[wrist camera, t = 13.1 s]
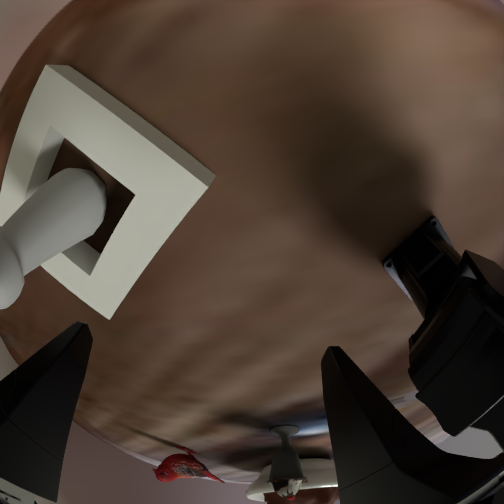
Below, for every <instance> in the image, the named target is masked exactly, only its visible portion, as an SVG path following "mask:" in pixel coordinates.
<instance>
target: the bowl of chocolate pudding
mask: <svg viewBox="0 0 504 504" xmlns="http://www.w3.org/2000/svg"><path fill="white" fill-rule="evenodd" d="M300 464H301V469H302V473H303V476H304V477H307V478H308V482H307V483H302V484H301V487H300V489H299V490H298V492H297V493H296V494H295V498H294V499H293V500H292V504H333V503H334V502H335V501H336V500H338V499H339V490H338V483H337V476H336V469H335V463H334V461H332V460H329V459H323V458H307V459H300ZM271 465H272V464H271ZM271 465H268V466H267V467H265V468H263V470H262V471H261V473H260V475H259V477H258V478H257V479H256V480H255V481H254V482H253V483H252V484H251V485H250V486H249V487H248V489H247V490H246V494H245V495H246V497H247V498H249V499H252V500H256V501H265V502H267V504H291V502H290V500H288V499H287V498H285V497H282V496H280V495H279V494H277V492H275V491H274V488H273V487H272V486H271V485H270V484H265V482H266V481H268V480H269V476H270V471H271Z"/></svg>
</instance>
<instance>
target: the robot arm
mask: <svg viewBox="0 0 504 504" xmlns="http://www.w3.org/2000/svg"><path fill="white" fill-rule="evenodd" d="M433 221H434V223H433V224H432V222H433ZM462 257H463V258H462ZM462 257H461V256H460V255H459V254H458V253H457V251H456V250H455V249H454V248H453V246H452V244H451V242H450V240H449V238H448V236H447V234H446V233H445V231H444V229H443V227H442V225H441V224H440V222H439V220H438V219H437V218H436V217H435V216H431V217H430V218H429V219H428V220H427V221H426V222H425V223H424V224H423V225H421V226H420V227H419V228H418V229H417V230H416V231H415V232H414V233H413V234H412V235H411V236H410V237H409V238H408V239H407V240H405V241H404V242H403V243H402V244H401V245H400V246H399V247H398V248H397V249H396V250H394V251H393V252H392V253H391V254H390V255H389V256H388V257H386V258H385V259H384V260H383V262H382V265H383V267H384V269H385V270H386V271H387V272H388V273H389V274H390V276H391V277H392V278H393V279H394V280H395V282H396V283H397V284H398V285H399V286H400V287H401V289H402V290H403V291H404V292H405V294H406V295H407V296H408V297H409V298H410V300H412V301H414V303H415V305H416V306H417V308H418V310H419V311H420V313H421V315H422V317H423V318H424V321H423V322H422V324H421V325H420V327H419V328H418V329H417V331H416V332H415V333H414V334H412V336H411V337H410V338H409V350H410V354H409V363H410V367H409V368H408V373H409V376H410V378H411V381H412V382H413V384H414V386H415V387H416V389H417V390H418V391H419V392H418V393H417V394H416V395H415V396H416V398H417V399H418V400H420V401H421V402H422V403H424V404H425V405H426V406H427V407H428V408H429V409H430V410H431V411H432V412H433V414H434V415H435V417H436V418H437V420H438V422H439V423H440V425H441V427H442V429H443V430H444V431H445V432H447V433H448V434H450V435H452V436H457V435H459V434H460V433H461V432H463V431H464V430H465V429H467V428H468V427H472V428H476V429H480V430H484V431H488V432H489V433H490V434H491V435H492V436H493V437H494V439H495V440H496V442H497V443H498V444H499V446H500V447H501V449H502V450H503V452H502V453H500V454H499V455H497V456H496V457H495V458H492V459H480V458H473V457H467V456H462V455H456V454H451V453H447V452H445V451H443V450H441V449H439V448H438V447H437V446H435V445H434V444H433V443H432V442H431V441H430V440H428V439H427V438H426V437H425V436H424V435H423V434H421V433H420V432H419V431H418V430H417V429H416V428H415V427H414V426H413V425H412V424H410V423H409V422H408V421H407V419H406V418H405V417H404V416H403V415H402V414H401V413H400V412H399V411H398V410H397V409H395V407H394V406H393V405H392V403H391V402H390V401H389V400H388V399H387V398H386V397H385V396H384V395H383V394H382V392H381V391H380V390H379V389H378V388H377V387H376V386H375V385H374V384H373V383H372V382H371V380H370V379H369V378H368V377H367V376H366V375H365V374H364V373H363V372H362V371H361V369H360V368H359V367H358V366H357V365H356V364H355V363H354V362H353V361H352V360H351V359H350V357H349V356H348V355H347V354H346V353H345V352H344V351H343V350H342V349H341V348H340V347H339V346H329V347H328V348H327V350H326V352H325V354H324V356H323V358H322V361H321V371H322V384H323V398H324V405H325V411H326V416H327V421H328V427H329V433H330V439H331V445H332V451H333V457H334V463H335V469H336V476H337V483H338V490H339V498H340V504H504V474H502V475H500V476H499V477H498V475H499V474H500V473H501V472H502V471H504V269H502V268H501V267H500V266H499V265H498V264H497V263H495V262H494V261H491V260H489V259H487V258H485V257H482V256H480V255H478V254H475V253H473V252H470V251H468V250H465V251H464V253H463V255H462ZM387 263H389V264H388V265H387ZM92 343H93V338H92V335H91V332H90V330H89V327H88V324H87V323H85V322H81V321H77V322H75V323H74V324H72V325H71V326H70V327H68V328H67V329H66V330H64V331H63V332H62V333H60V334H59V335H58V336H56V337H55V338H54V339H53V340H51V341H50V342H49V343H47V344H46V345H45V346H44V347H42V348H41V349H40V350H38V351H37V352H36V353H35V354H33V355H32V356H31V357H30V358H28V359H27V360H26V361H25V362H23V363H22V364H21V365H20V366H18V367H17V368H16V369H15V370H13V371H12V372H11V373H10V374H9V375H7V376H6V377H5V378H4V379H2V380H1V381H0V504H37V503H36V501H35V495H38V496H41V497H43V498H45V499H48V500H51V501H54V502H57V497H58V489H59V482H60V476H61V470H62V464H63V462H62V461H63V458H64V453H65V449H66V444H67V439H68V435H69V430H70V427H71V423H72V419H73V415H74V411H75V408H76V404H77V401H78V397H79V394H80V391H81V387H82V384H83V381H84V377H85V374H86V369H87V365H88V360H89V356H90V351H91V347H92Z"/></svg>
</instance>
